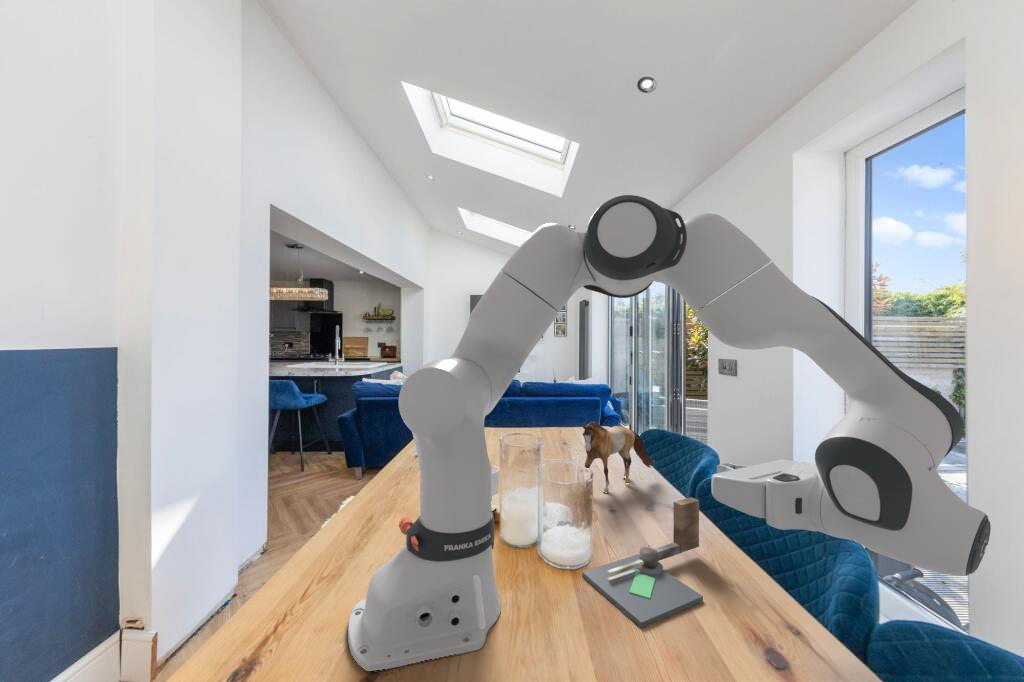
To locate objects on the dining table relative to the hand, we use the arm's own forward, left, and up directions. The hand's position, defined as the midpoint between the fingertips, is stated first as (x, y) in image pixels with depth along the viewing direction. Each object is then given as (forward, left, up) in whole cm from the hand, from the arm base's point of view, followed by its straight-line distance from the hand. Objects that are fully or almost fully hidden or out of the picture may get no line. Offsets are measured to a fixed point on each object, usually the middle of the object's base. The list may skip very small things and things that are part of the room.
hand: (722, 468), depth 68 cm
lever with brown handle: (-7, +8, -18) cm, 21 cm away
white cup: (-26, +46, -20) cm, 57 cm away
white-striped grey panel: (-14, +5, -20) cm, 25 cm away
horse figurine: (+15, +41, -20) cm, 48 cm away
